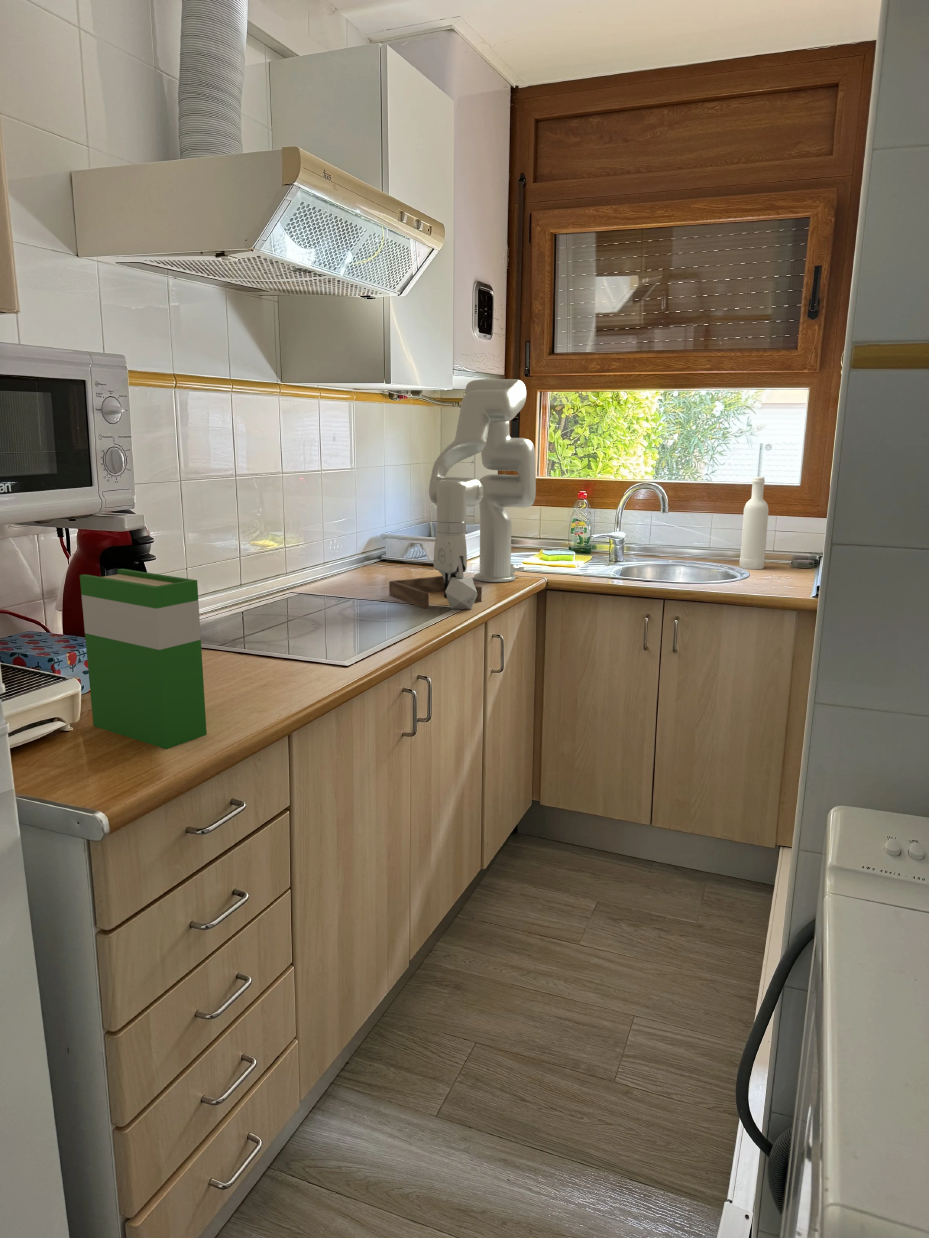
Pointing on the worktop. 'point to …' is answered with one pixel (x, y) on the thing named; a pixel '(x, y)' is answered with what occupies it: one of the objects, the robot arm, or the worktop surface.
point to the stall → (420, 590)
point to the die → (461, 593)
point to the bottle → (754, 528)
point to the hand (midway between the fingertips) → (450, 597)
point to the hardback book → (145, 656)
